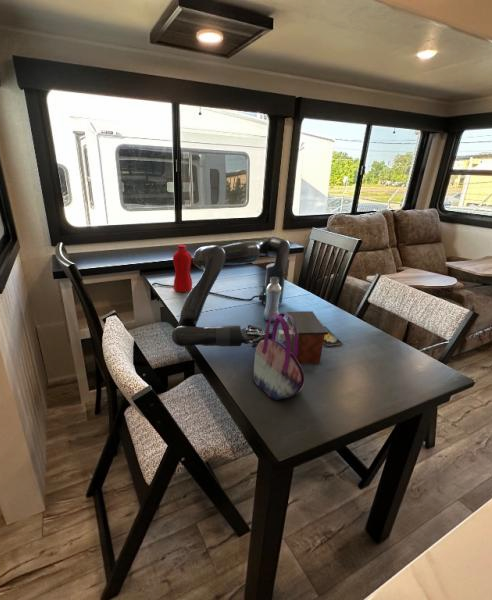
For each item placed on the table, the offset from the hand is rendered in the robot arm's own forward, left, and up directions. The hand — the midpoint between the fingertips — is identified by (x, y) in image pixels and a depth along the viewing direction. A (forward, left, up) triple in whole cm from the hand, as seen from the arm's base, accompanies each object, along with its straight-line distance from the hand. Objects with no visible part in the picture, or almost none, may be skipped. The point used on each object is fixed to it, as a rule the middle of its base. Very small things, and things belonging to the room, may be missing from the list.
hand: (274, 335), depth 114 cm
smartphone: (+11, +24, -7) cm, 27 cm away
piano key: (+3, +3, -2) cm, 5 cm away
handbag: (+10, -17, -7) cm, 21 cm away
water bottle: (-69, +24, -7) cm, 74 cm away
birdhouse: (+8, +7, -7) cm, 13 cm away
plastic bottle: (-14, +23, -7) cm, 28 cm away
